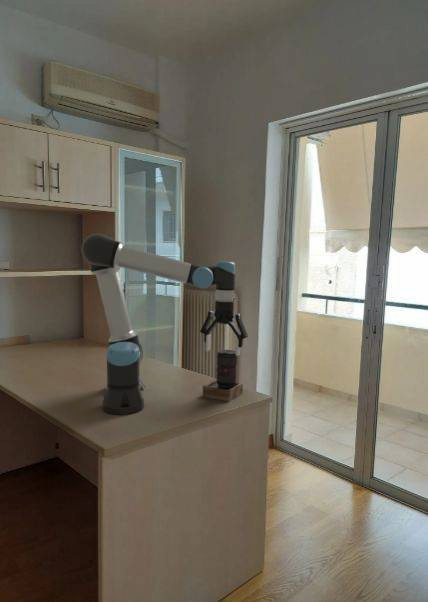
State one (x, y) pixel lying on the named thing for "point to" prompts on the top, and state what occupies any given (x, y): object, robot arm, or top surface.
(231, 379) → the camera lens
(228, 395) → the square wooden tray
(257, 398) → the top surface
